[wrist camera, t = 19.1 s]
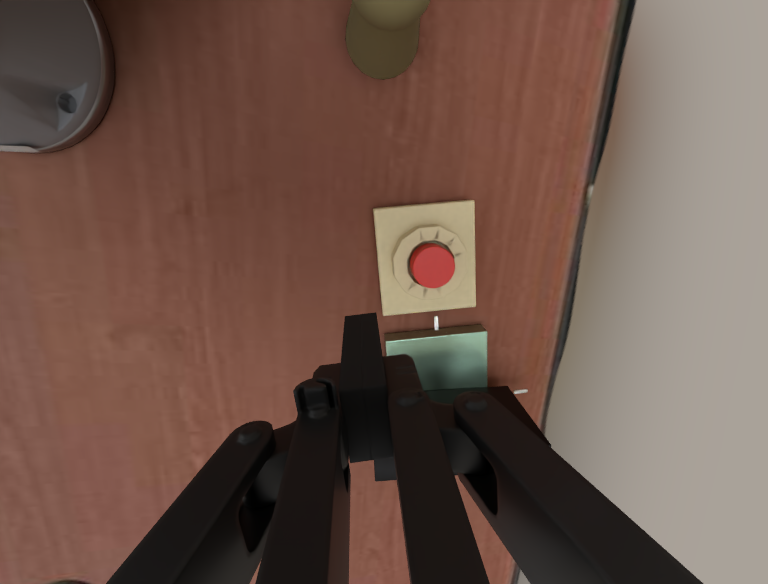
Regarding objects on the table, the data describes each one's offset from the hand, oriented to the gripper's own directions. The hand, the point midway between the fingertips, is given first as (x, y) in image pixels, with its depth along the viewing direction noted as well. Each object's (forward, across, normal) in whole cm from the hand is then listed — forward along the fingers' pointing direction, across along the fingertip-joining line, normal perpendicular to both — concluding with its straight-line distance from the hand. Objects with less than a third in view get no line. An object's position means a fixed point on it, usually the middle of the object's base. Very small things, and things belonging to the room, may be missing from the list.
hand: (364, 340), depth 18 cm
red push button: (+15, +6, 0) cm, 16 cm away
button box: (+18, +6, 0) cm, 19 cm away
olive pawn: (+19, +4, +18) cm, 26 cm away
